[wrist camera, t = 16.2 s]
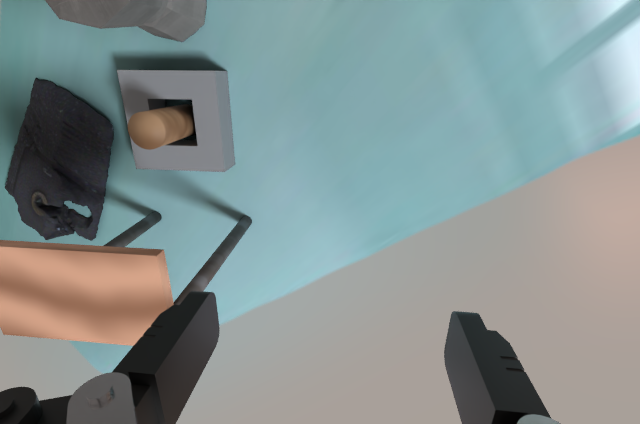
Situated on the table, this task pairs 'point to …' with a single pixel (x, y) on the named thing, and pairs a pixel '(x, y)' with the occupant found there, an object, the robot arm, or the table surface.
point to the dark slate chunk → (60, 163)
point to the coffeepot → (136, 15)
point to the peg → (161, 126)
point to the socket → (209, 116)
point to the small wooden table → (93, 286)
